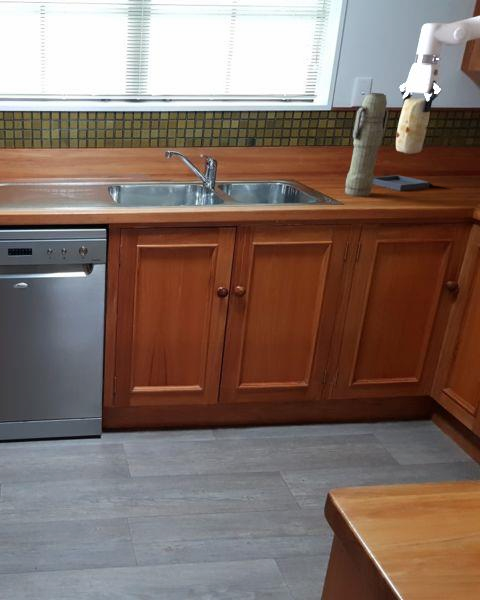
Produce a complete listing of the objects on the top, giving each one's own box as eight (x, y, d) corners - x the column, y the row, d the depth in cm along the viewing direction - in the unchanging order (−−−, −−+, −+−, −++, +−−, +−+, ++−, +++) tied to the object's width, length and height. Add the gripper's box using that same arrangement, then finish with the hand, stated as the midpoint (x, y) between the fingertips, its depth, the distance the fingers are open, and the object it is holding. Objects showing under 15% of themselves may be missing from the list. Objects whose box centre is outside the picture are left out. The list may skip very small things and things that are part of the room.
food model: (420, 152, 233) (433, 97, 225) (421, 155, 227) (433, 99, 219) (392, 150, 237) (404, 96, 229) (392, 152, 231) (403, 97, 223)
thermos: (379, 195, 221) (400, 94, 207) (353, 197, 217) (373, 94, 203) (360, 190, 228) (379, 92, 215) (335, 192, 224) (353, 92, 211)
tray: (428, 188, 234) (430, 182, 233) (399, 191, 228) (401, 185, 227) (396, 180, 246) (397, 175, 245) (368, 183, 240) (369, 177, 239)
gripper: (455, 61, 213) (443, 112, 220) (412, 59, 228) (402, 108, 235) (441, 61, 210) (429, 113, 217) (398, 59, 225) (388, 108, 232)
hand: (415, 110), depth 226 cm, fingers closed on food model, 8 cm apart
